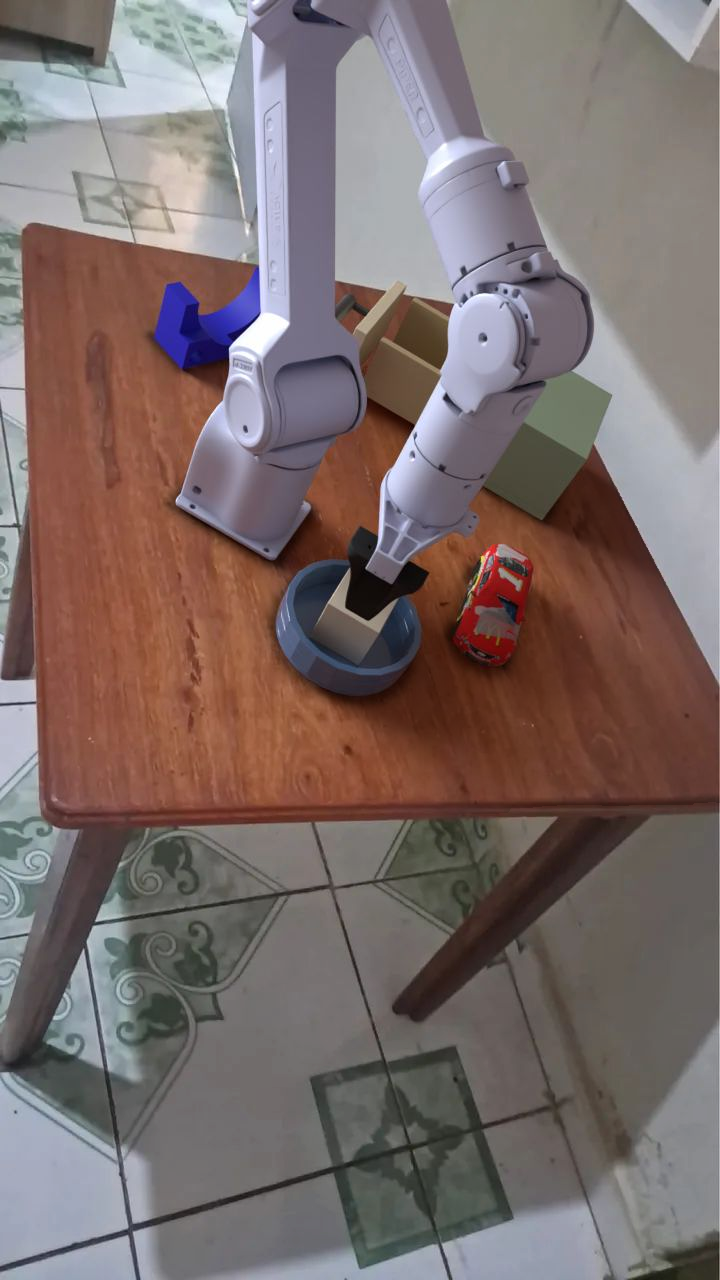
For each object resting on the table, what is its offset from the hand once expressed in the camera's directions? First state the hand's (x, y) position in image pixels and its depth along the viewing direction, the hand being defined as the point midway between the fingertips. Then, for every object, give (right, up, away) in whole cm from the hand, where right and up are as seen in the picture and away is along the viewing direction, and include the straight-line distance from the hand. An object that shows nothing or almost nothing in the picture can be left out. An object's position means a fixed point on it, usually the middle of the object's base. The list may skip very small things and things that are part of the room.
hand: (376, 579), depth 71 cm
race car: (+10, -2, +13) cm, 17 cm away
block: (-3, -4, +5) cm, 7 cm away
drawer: (+2, +22, +27) cm, 35 cm away
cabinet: (+13, +15, +28) cm, 34 cm away
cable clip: (-15, +24, +22) cm, 36 cm away
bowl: (-3, -4, +6) cm, 8 cm away
